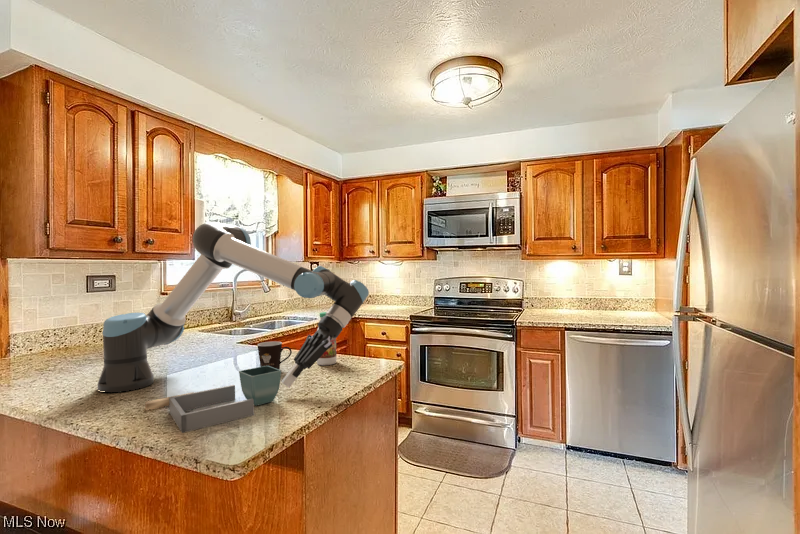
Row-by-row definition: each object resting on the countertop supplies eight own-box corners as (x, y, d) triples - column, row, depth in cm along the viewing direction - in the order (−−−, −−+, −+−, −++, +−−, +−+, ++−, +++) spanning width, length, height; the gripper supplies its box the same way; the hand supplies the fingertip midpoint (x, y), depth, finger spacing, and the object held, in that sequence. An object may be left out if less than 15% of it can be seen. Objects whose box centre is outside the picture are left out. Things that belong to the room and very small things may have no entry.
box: (234, 398, 115) (233, 384, 115) (253, 414, 101) (253, 399, 101) (169, 412, 104) (169, 397, 104) (181, 432, 91) (181, 415, 91)
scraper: (147, 414, 104) (147, 406, 104) (144, 406, 110) (144, 399, 110) (209, 401, 114) (208, 394, 114) (202, 394, 120) (202, 387, 120)
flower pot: (268, 394, 117) (267, 364, 117) (282, 401, 111) (282, 370, 111) (238, 402, 111) (238, 370, 111) (252, 410, 105) (251, 376, 105)
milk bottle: (312, 365, 152) (311, 313, 152) (323, 360, 159) (322, 311, 159) (329, 366, 149) (328, 313, 149) (340, 361, 157) (339, 311, 156)
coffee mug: (252, 372, 143) (252, 345, 143) (270, 366, 151) (270, 340, 151) (276, 376, 138) (275, 347, 138) (293, 370, 145) (293, 343, 145)
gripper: (352, 331, 123) (303, 397, 112) (331, 327, 133) (285, 386, 122) (336, 316, 119) (285, 382, 109) (316, 312, 129) (267, 373, 119)
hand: (285, 384), depth 115 cm, fingers closed
